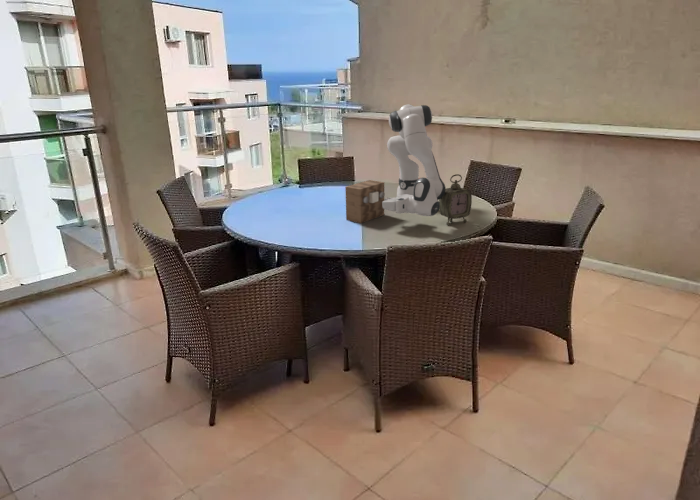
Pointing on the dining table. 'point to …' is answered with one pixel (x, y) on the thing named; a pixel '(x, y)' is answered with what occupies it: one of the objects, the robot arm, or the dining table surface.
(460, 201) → the tabletop clock
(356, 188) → the wooden block with knobs
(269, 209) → the dining table surface
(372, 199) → the cream button
